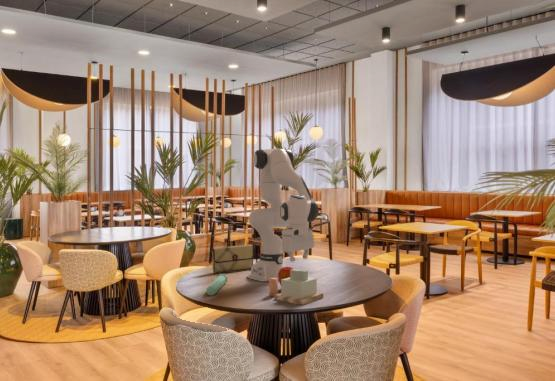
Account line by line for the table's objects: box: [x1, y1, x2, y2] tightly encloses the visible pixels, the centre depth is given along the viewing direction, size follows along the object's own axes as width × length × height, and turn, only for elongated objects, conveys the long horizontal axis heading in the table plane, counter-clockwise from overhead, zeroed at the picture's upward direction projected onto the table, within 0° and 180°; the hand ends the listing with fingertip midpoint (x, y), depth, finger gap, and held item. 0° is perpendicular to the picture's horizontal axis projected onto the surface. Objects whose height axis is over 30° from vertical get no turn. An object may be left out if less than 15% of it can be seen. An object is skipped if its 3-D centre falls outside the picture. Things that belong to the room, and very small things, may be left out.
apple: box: [278, 266, 294, 286], centre depth 235 cm, size 9×9×12 cm
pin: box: [268, 278, 279, 297], centre depth 223 cm, size 4×4×8 cm
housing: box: [280, 268, 318, 299], centre depth 217 cm, size 12×12×11 cm
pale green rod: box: [206, 273, 228, 296], centre depth 236 cm, size 6×6×25 cm
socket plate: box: [274, 291, 324, 306], centre depth 217 cm, size 16×16×4 cm
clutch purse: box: [209, 244, 259, 274], centre depth 281 cm, size 30×7×15 cm, turn 121°
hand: (299, 260), depth 217 cm, fingers open, 8 cm apart
